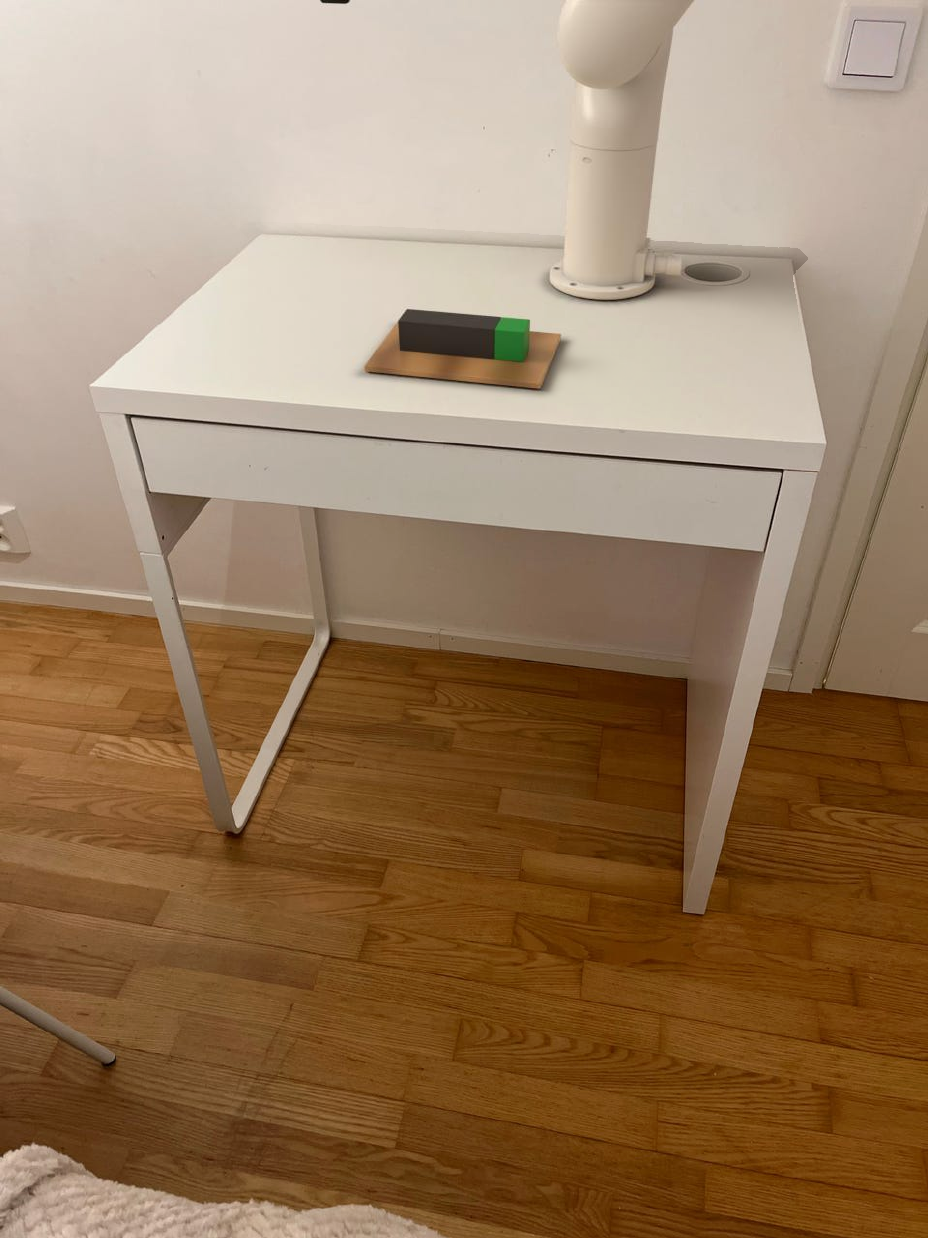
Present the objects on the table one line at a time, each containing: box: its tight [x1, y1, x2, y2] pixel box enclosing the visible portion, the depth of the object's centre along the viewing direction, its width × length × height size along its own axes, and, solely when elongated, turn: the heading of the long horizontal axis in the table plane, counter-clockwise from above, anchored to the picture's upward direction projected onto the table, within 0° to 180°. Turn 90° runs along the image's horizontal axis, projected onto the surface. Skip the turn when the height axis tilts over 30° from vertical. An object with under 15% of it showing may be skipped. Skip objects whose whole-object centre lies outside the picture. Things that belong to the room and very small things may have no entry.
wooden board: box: [364, 321, 562, 390], centre depth 97 cm, size 18×12×1 cm, turn 76°
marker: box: [397, 308, 531, 362], centre depth 96 cm, size 13×3×3 cm, turn 76°
